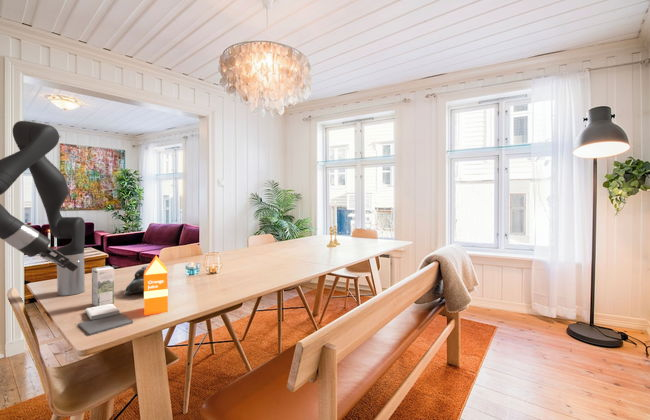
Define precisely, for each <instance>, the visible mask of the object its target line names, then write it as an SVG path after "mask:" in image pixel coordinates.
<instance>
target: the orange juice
mask: <svg viewBox="0 0 650 420" xmlns="http://www.w3.org/2000/svg"><path fill="white" fill-rule="evenodd" d="M147 266H148V267H147V268H146V270H145V272H144V292H143V302H144V304H143V305H144V307H143V309H144V311H143V312H144V316H149V315H155V314H162V313H163V314H164V313H168V310H169V308H168V307H169V306H168V304H169V302H168V301H169V299H168V296H169V292H168V291H169V290H168V282H169V281H168V274H169V272H168V268H167V267H166V265H165V264H164V263H163V262H162V260H160V258H159V257H158V256H157V255H155V256H154V257H153V259H152V261H151V262H150V263H149V264H148V265H147Z"/></svg>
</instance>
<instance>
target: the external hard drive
mask: <svg viewBox="0 0 650 420" xmlns="http://www.w3.org/2000/svg"><path fill="white" fill-rule="evenodd" d="M85 313H86V314H87V317H88V318H89V320H97V319H101V318H105V317H110V316H114V315H118V314H120V313H121V312H120V309H119V308H118V307H116V306H115V305H114V303H113V304H106V305H101V306H93V307H87V308H85Z"/></svg>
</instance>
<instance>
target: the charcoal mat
mask: <svg viewBox="0 0 650 420" xmlns="http://www.w3.org/2000/svg"><path fill="white" fill-rule="evenodd" d="M133 323H134V320H131V319H130V318H129V317H127V316H125V315H124V314H122V313H121V312H120V314H118V315H114V316H110V317H105V318H101V319H97V320H91V319H89V320H85V321H82V322H78V323H77V326H78V327H80V328H81V329H82V330H83V331H84V332H85V333H86V334H87V335H88V336H92V335H95V334H96V335H97V334H99V333H102V332H107V331H109V330H114V329H116V328H121V327H124V326H127V325H131V324H133Z"/></svg>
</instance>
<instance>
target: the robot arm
mask: <svg viewBox="0 0 650 420" xmlns="http://www.w3.org/2000/svg"><path fill="white" fill-rule="evenodd" d="M12 136H13V139H14V142H15V144H16V147H17V148H18V149H19V150H18V151H17V152H13V154H10V155H7V156H6V157H5V156H4V157H3V158H1V159H0V196H1V195H3V194H4V193H6V192H7V190H9V189H10V188H11V186H12V185H13V184H14V183H15V182H16V181H17V180H18V179H19V177H21V175H22V174H23V173H24V172H26V171H27V170H28V169H29V172H30V175H31V177H32V179H33V182H34V186H35V187H36V191H37V193H38V195H39V197H40V200H41V203H42V205H43V207H44V210H45V214H46V217H47V222H48V225H49V227H48V228H49V230H50V233H51V234H52V236H53V237H54V238H55V239H71V242H70V243H68V244H65V245H63V246H59V247H58V248H56V249H55V248H54V247H51V246H49V245H50V243H51V239H50V238H48V237H47V236H45V234H42V233H41V232H40V231H38V230H36V229H35V228H34V227H32V226H30V225H28V224H27V223H25V222H23V221H21V220H20V219H18V218H17V217H15V216H14V215H12V214H11V213H10V212H9V211H8V209H6V208H5V207H4V206H3V205H2V204H1V203H0V239H1V240H2V241H4V242H6V244H8V245H9V246H11V247H12V248H14V249H16V250H17V251H19V252H21V253H23V254H24V255H25V256H27V257H30V258H32V257H35V256H37V255H39V257H40V258H41V259H44V260H46V261H48V262H51V263H53V264H55V265H56V276H57V277H56V278H57V279H56V285H57V286H56V287H57V295H58V296H62V297H63V296H73V295H78V294H81V293H83V292H85V291H86V287H85V286H86V285H85V280H86V277H85V274H86V273H85V245H86V244H85V242H86V240H85V239H86V238H85V236H86V223H85V220H84V218H83V217H80V216H64V217H63V216H62V214H61V208H62V206H63V204H64V203H65V201H66V199H67V198H68V196H69V192H70V191H69V186H68V183H67V180H66V178H65V176H64V174H63V173H62V172H61V171H60V170H59V169H58V168H57V166H55V165H54V164H53V163H52V162H51V161H50V160H49V159H48V158H47V156H46V155H47V154H48V153H50V152H51V151H53V149H55V148H56V146H57V145H58V143H59V140H60V134H59V132H58V130H57V129H56V128H55V127H54V126H53V125H49V124H46V123H40V122H34V121H29V120H27V121H26V120H19V121H16V122H15V123H14V124H13V127H12ZM48 246H49V247H48Z"/></svg>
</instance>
